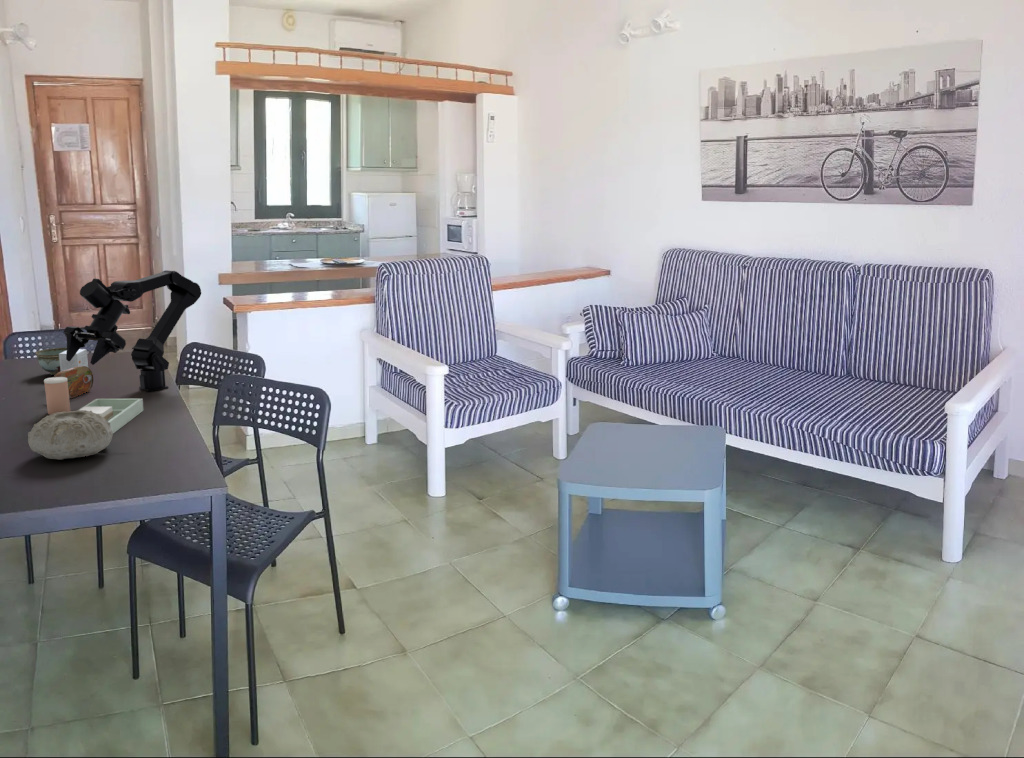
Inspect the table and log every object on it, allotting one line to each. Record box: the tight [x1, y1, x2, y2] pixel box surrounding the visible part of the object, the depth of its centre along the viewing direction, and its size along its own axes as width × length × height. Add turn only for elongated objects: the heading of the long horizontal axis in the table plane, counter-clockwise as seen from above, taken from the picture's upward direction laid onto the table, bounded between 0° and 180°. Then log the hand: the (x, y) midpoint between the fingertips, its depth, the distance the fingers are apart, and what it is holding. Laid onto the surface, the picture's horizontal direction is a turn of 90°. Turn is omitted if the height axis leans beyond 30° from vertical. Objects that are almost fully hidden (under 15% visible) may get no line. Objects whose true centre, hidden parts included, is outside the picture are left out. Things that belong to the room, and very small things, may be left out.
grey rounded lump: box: [27, 409, 114, 461], centre depth 199 cm, size 18×18×10 cm
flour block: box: [79, 406, 113, 421], centre depth 218 cm, size 7×7×5 cm
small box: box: [59, 348, 89, 371], centre depth 268 cm, size 8×6×10 cm
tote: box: [78, 398, 144, 434], centre depth 224 cm, size 24×13×4 cm, turn 5°
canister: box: [43, 376, 72, 416], centre depth 233 cm, size 6×6×10 cm
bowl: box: [34, 347, 67, 376], centre depth 280 cm, size 14×13×8 cm
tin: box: [53, 366, 94, 400], centre depth 253 cm, size 15×3×8 cm, turn 168°
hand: (79, 362), depth 238 cm, fingers open, 9 cm apart
